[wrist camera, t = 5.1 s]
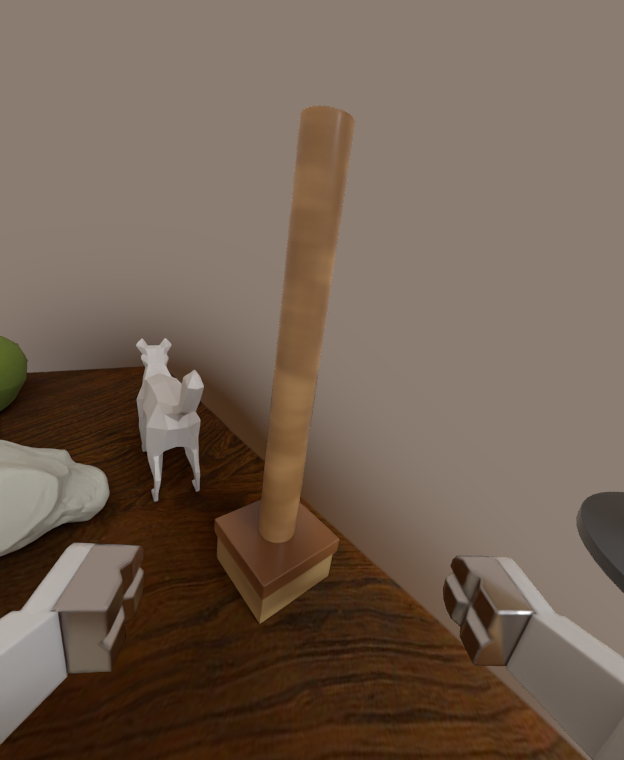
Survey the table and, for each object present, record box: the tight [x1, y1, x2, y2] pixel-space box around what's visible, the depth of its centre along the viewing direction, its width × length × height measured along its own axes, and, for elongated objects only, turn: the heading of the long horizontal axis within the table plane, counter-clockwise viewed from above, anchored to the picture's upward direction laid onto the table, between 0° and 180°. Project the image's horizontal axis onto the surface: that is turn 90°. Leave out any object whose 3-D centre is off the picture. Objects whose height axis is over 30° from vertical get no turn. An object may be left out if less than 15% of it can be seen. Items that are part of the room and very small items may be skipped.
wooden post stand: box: [214, 106, 355, 624], centre depth 20 cm, size 6×6×28 cm
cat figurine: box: [136, 338, 204, 502], centre depth 31 cm, size 4×20×14 cm, turn 32°
